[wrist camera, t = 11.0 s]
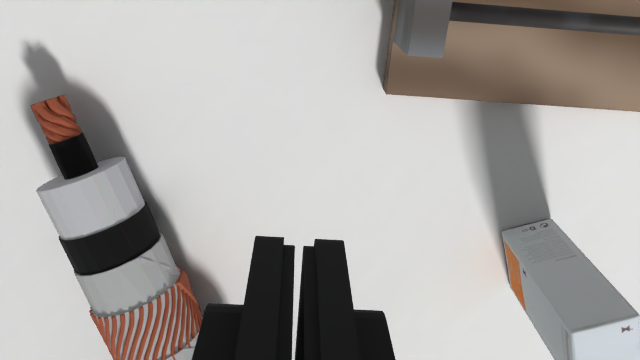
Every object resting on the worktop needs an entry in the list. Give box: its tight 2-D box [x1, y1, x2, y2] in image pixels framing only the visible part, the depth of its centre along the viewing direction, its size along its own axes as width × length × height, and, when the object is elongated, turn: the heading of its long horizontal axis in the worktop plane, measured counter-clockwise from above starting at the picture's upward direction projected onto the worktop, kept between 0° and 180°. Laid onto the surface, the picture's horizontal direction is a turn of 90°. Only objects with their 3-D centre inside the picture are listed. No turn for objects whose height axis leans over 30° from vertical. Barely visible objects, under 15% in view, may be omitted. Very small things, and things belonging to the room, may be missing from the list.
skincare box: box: [502, 219, 640, 360], centre depth 36 cm, size 6×4×12 cm
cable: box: [30, 95, 203, 360], centre depth 38 cm, size 10×34×10 cm, turn 17°
